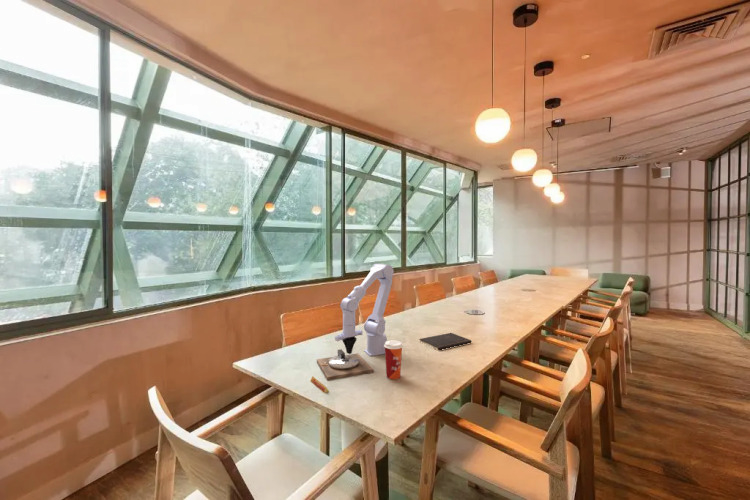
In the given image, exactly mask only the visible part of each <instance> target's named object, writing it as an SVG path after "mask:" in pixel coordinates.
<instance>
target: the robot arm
mask: <svg viewBox="0 0 750 500" xmlns="http://www.w3.org/2000/svg"><path fill="white" fill-rule="evenodd" d="M369 270H370V272H369V273H368V274H367V276H366V277H365V278H364V280H363V281H362V282H361V284H360V285H356V286H354V287H353V290H351V292H350V293H349V294H348V295H347V297H344V298H343V299H341V302H340V304H339V306H340V308H341V310H342V311H341V312H342V333H339V334H337V335H335V336H334V340H335V341H336V342H340V341H342V342H343V344H344V347H345V350H346V354H347V355H350V354H353V349H354V346H355V343H356V341H357V336H363V330H360V329H359V330H356V310H358V308H359V303H360V302H361V300H362V299H363V298H364V297H365V296H366V294H367V289H368V288H369V287H371V286H372V284H373V283H374V282H375V281H376V280H378V281H379V283H380V284H379V288H378V291H377V296H376V299H375V302H374V306H373V309H372V313H371V314H370V315H368V317H367V319H366V321H365V322H364V325H363V329H364V331H365V332H366V334H367V335H366V338H367V339H366V347H367V348H366V349H364V352H365V353H366V354H367V355H368V356H370V357H372V356H378V355H385V347H384V345H385V342H386V341H388V339H387V337H388V336H387V335H386V334H385V331H386V320H385V318H384V313H385V311H386V306H387V304H388V299H389V295H390V293H391V287H392V284H393V276H394V273H395V271H394V270H395V269H394V268H393V266H392V265H390V264H383V263H374V264H373V266H371V267H370V269H369Z"/></svg>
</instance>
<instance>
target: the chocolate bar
mask: <svg viewBox="0 0 750 500" xmlns="http://www.w3.org/2000/svg"><path fill="white" fill-rule="evenodd" d="M310 383H312V385H314V386H315V387H316V388H317V389H319V390H320V391H321V392H322V393H323V394H326V393H329V391H330V390H329V389H328V388H327V386H325V385H324V384H323V383H322V382H321V381H320V380H318V379H317V378H315V376H312V377H311V379H310Z"/></svg>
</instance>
